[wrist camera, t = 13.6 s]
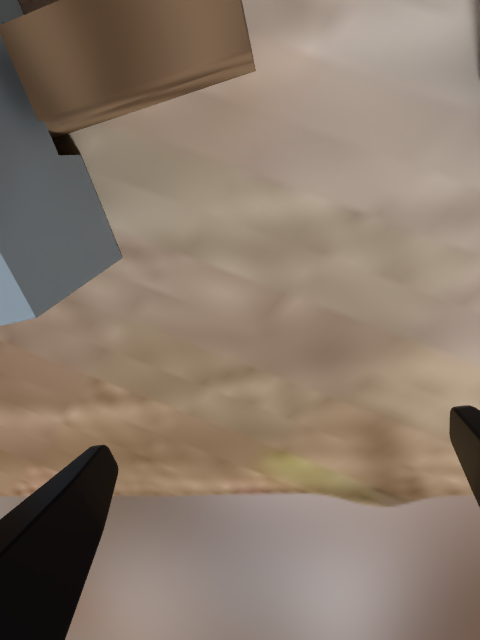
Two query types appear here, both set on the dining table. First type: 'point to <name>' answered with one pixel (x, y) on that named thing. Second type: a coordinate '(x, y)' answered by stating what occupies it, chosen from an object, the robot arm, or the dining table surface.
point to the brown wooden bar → (123, 55)
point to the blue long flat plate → (42, 207)
